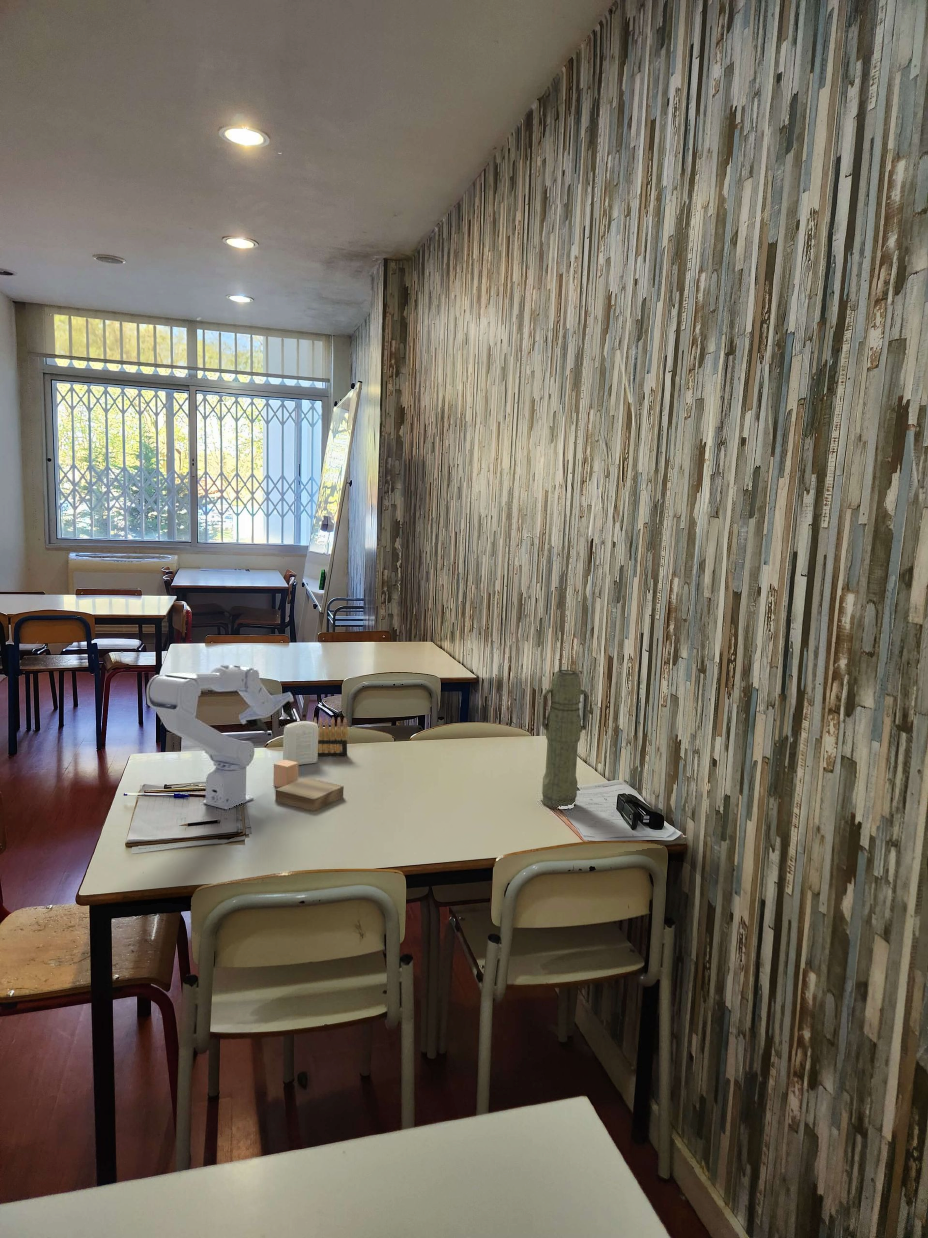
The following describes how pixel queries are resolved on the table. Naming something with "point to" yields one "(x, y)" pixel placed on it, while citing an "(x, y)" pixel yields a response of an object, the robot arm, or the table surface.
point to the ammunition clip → (332, 739)
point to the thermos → (562, 737)
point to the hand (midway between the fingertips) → (279, 723)
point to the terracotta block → (285, 773)
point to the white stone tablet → (301, 742)
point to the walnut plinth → (309, 793)
